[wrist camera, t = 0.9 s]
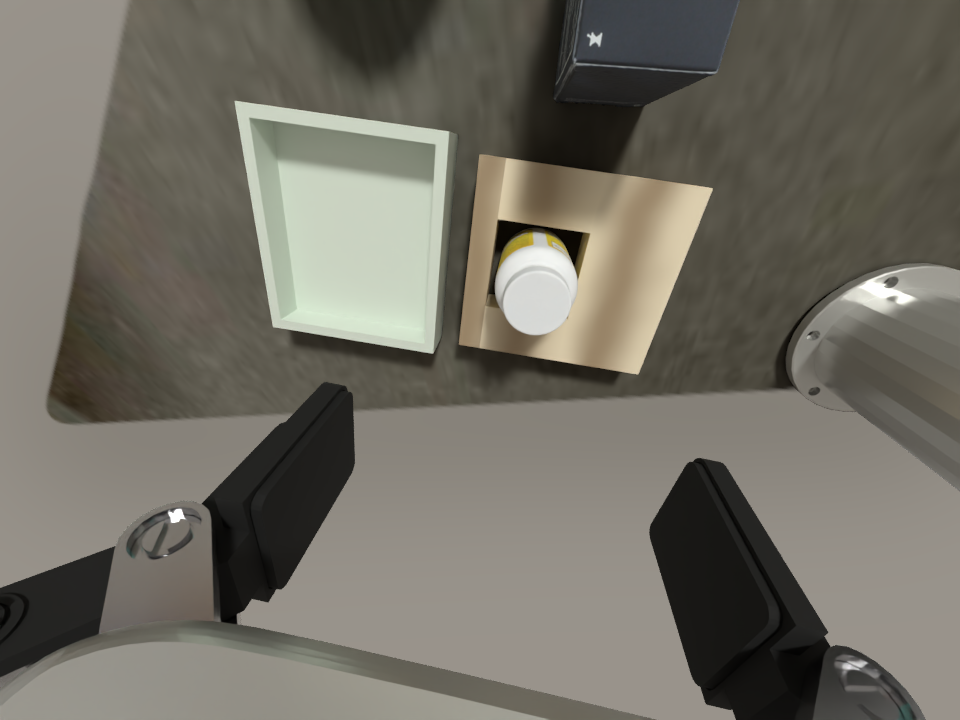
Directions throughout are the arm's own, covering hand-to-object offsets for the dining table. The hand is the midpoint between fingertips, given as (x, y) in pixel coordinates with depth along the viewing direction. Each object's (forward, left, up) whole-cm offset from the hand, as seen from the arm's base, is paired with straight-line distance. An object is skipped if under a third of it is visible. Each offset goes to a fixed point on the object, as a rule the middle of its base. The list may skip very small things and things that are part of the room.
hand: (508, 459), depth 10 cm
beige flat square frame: (-3, 0, -22) cm, 23 cm away
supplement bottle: (-1, 0, -23) cm, 23 cm away
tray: (+13, 0, -22) cm, 26 cm away
